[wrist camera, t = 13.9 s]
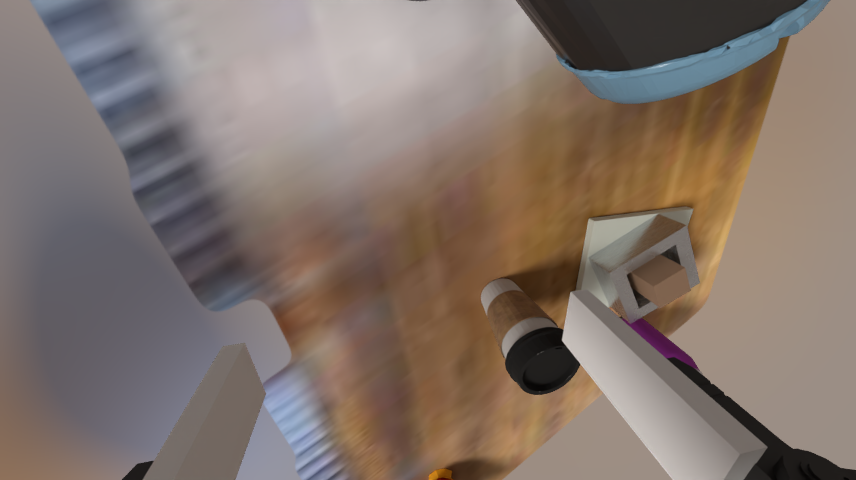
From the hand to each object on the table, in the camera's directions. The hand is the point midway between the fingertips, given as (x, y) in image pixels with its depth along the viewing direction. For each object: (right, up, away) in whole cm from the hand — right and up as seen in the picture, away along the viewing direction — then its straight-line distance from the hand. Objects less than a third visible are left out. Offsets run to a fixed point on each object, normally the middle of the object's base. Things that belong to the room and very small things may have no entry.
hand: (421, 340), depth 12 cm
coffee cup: (+11, -4, +34) cm, 36 cm away
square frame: (+32, +1, +34) cm, 47 cm away
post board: (+32, +1, +35) cm, 48 cm away
